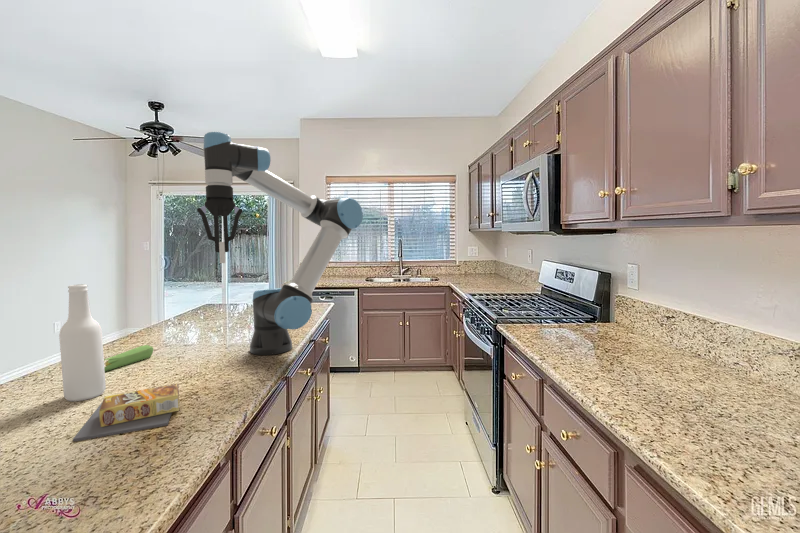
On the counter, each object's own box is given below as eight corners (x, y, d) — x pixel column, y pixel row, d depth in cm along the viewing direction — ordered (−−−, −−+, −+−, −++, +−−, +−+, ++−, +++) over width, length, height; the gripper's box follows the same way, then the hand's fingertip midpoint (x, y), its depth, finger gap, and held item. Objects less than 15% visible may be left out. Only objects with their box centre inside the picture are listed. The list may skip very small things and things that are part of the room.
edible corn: (158, 344, 139) (148, 340, 140) (101, 363, 120) (91, 358, 121) (156, 357, 140) (147, 353, 141) (99, 378, 121) (89, 373, 122)
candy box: (179, 394, 92) (98, 409, 84) (179, 411, 93) (99, 428, 85) (178, 382, 100) (104, 395, 92) (178, 398, 100) (105, 412, 92)
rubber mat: (178, 393, 105) (178, 390, 105) (167, 425, 87) (167, 422, 87) (102, 404, 99) (102, 401, 99) (72, 441, 80) (72, 439, 80)
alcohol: (71, 404, 98) (63, 287, 96) (58, 397, 103) (50, 285, 101) (111, 393, 106) (104, 284, 104) (97, 386, 111) (90, 282, 108)
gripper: (242, 188, 124) (245, 261, 126) (196, 186, 119) (199, 263, 120) (242, 185, 117) (245, 262, 119) (194, 183, 112) (198, 264, 113)
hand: (222, 262), depth 119 cm, fingers closed
